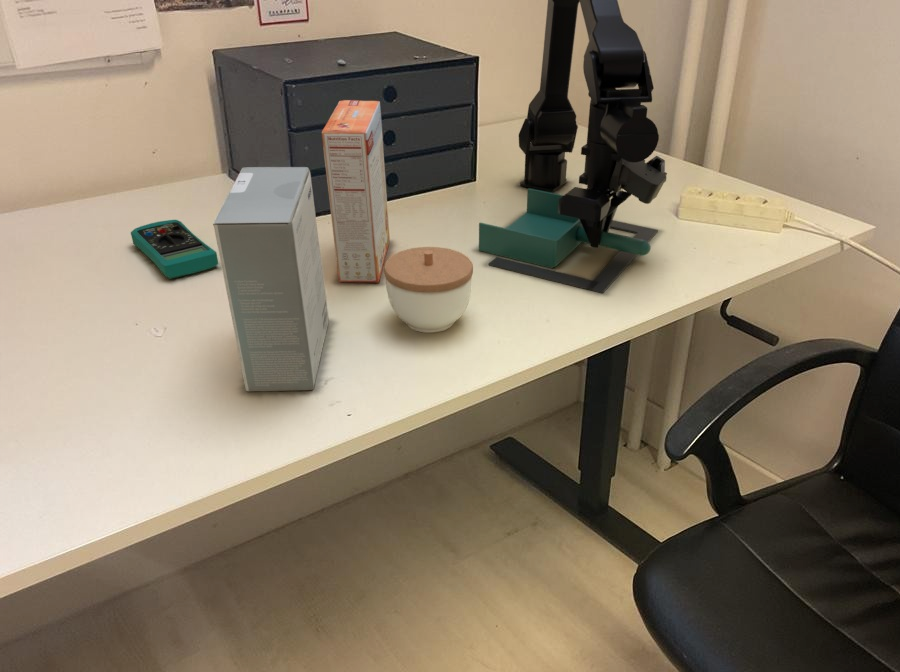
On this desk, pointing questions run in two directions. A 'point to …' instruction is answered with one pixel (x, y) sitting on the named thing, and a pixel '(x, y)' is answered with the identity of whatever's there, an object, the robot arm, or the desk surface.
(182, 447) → the desk surface
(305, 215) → the hard drive box
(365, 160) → the cracker box
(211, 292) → the desk surface
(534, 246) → the dustpan
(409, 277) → the trinket box
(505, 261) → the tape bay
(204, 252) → the digital multimeter
